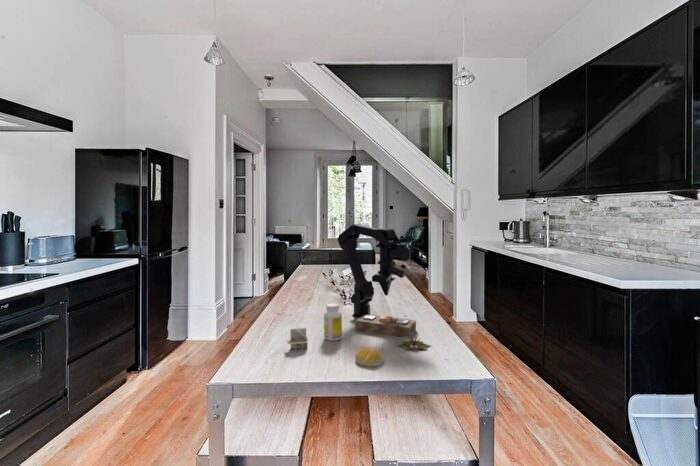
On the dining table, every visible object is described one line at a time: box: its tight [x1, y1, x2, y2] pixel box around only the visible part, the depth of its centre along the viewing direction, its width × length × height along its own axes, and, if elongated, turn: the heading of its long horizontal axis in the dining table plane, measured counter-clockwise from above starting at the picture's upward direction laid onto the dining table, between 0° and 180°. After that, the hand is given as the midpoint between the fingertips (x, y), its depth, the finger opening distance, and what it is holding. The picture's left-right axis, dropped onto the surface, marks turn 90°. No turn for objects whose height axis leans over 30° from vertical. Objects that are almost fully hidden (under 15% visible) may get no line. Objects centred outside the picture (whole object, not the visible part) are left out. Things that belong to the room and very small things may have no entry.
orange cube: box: [379, 315, 393, 323], centre depth 155 cm, size 4×4×4 cm
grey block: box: [396, 318, 410, 325], centre depth 152 cm, size 4×4×4 cm
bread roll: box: [354, 348, 385, 368], centre depth 125 cm, size 8×9×4 cm
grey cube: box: [363, 314, 376, 321], centre depth 158 cm, size 4×4×4 cm
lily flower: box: [397, 334, 432, 354], centre depth 138 cm, size 12×12×5 cm
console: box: [355, 314, 417, 339], centre depth 155 cm, size 22×10×4 cm, turn 65°
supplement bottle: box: [323, 303, 343, 342], centre depth 146 cm, size 7×7×13 cm
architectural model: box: [286, 327, 309, 350], centre depth 135 cm, size 3×7×7 cm, turn 102°
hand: (386, 295), depth 164 cm, fingers closed
